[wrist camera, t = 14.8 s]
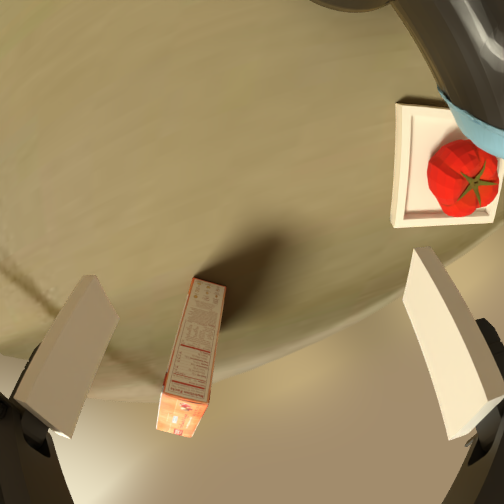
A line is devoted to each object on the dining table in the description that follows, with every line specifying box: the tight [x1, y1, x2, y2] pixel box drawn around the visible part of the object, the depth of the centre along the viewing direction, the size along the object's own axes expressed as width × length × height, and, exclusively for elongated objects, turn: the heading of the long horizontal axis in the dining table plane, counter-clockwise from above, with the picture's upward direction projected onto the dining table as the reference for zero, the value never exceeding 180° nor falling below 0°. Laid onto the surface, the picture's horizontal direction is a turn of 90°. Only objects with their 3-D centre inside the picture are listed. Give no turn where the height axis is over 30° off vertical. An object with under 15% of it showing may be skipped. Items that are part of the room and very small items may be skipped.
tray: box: [390, 103, 504, 228], centre depth 32 cm, size 16×18×2 cm
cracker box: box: [156, 277, 226, 437], centre depth 42 cm, size 14×6×21 cm, turn 162°
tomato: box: [427, 139, 499, 217], centre depth 30 cm, size 10×11×6 cm
